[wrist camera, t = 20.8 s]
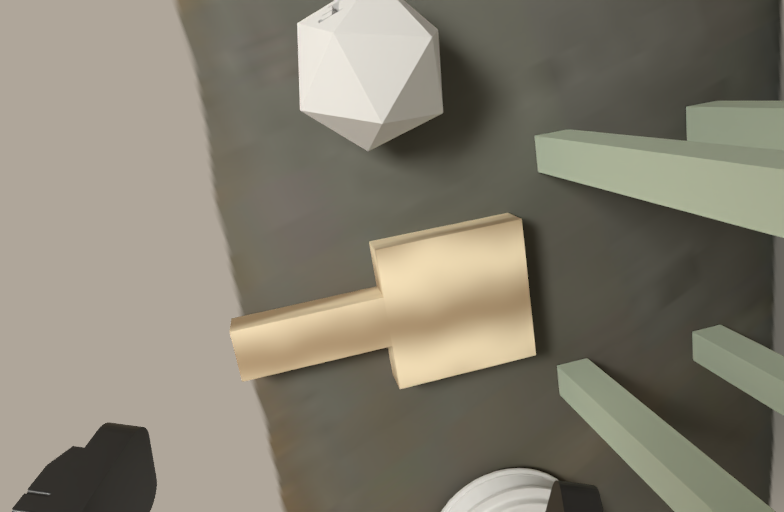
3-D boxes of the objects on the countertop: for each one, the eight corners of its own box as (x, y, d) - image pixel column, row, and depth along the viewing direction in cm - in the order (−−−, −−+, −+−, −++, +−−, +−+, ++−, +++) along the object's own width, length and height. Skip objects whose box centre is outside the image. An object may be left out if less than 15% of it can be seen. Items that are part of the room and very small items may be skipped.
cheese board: (219, 272, 39) (217, 283, 37) (507, 212, 42) (521, 219, 40) (254, 407, 42) (253, 425, 40) (521, 341, 45) (536, 355, 43)
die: (433, 8, 39) (376, -83, 30) (483, 126, 37) (437, 66, 28) (326, 70, 41) (243, 2, 32) (367, 183, 39) (291, 145, 30)
